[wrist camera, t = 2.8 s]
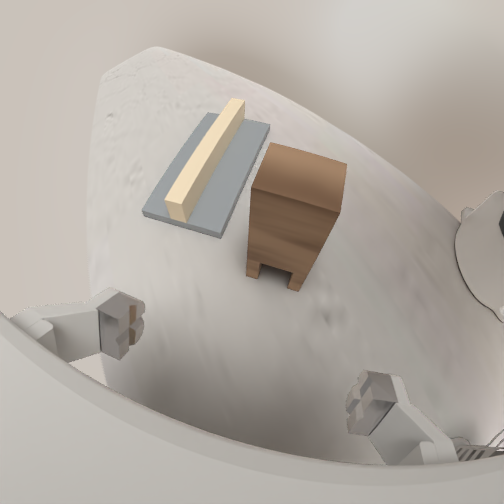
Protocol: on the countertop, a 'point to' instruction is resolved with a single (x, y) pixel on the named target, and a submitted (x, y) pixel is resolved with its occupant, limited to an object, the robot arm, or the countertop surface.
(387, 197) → the countertop surface
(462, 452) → the french press
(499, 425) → the countertop surface
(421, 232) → the countertop surface
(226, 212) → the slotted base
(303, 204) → the walnut block
